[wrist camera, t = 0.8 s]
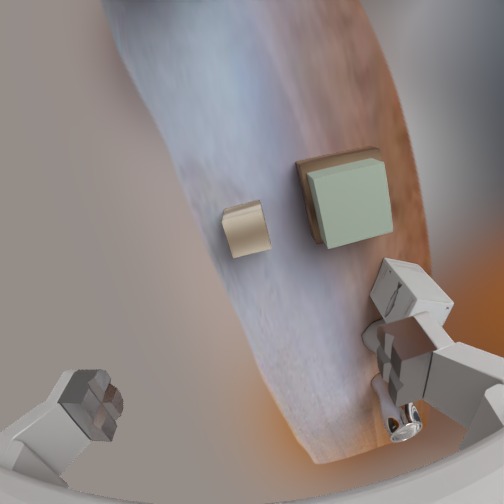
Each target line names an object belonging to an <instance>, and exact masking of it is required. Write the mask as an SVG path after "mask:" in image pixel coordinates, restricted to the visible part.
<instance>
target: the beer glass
mask: <svg viewBox="0 0 504 504" xmlns="http://www.w3.org/2000/svg"><path fill="white" fill-rule="evenodd" d="M371 385H372V387H373V389H374V390H375V392H376V393H377V395H378V398H379V403H380V410H381V416H382V420H383V423H384V426H385V428H386V430H387V433H388V435H389V437H390V439H391V441H392V442H401V441H405V440H407V439H409V438H411V437H413V436H414V435H416V434H417V433H418V432H419V431H420V430H421V428H422V423H421V420H420V417H419V414H418V412H417V409H416V407H415V405H414V403H413V402H412V403H408V404H405V405H402V406H399V407H395V406H394V403H393V401H392V399H391V397H390V394H389V392H388V382H386V381H385V380H383V379H382V377H381V374H380V373H378V374H377V375H376V376H375V377H374V378H373V380H372V382H371Z"/></svg>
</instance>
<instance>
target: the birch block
mask: <svg viewBox="0 0 504 504" xmlns="http://www.w3.org/2000/svg"><path fill="white" fill-rule="evenodd" d="M222 225H223V228H224V231H225V234H226V237H227V240H228V243H229V247H230V250H231V253H232V256H233V258H237V257H241V256H245V255H249V254H253V253H257V252H261V251H265V250H269V249H272V248H271V243H270V238H269V233H268V229H267V225H266V222H265V218H264V214H263V210H262V207H261V203H260V200H256V201H252V202H248V203H245V204H241V205H237V206H233V207H230V208H226V209H225V210H224V215H223V219H222Z"/></svg>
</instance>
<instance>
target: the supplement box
mask: <svg viewBox="0 0 504 504" xmlns="http://www.w3.org/2000/svg"><path fill="white" fill-rule="evenodd" d="M370 297H371V299H372V300H373V302H374V304H375V305H376V307H377V309H378V310H379V312H380V314H381V315H382V317H383V319H384V321H385V322H386V323H389V322H393V321H396V320H399V319H403V318H406V317H410V316H411V315H414V314H417V313H420V312H423V311H428V312H429V313H430V314H431V315H432V316H433V317H434V319H435V320H436V321H437V322H438V323H439V325H440V326H441V327H442V326H443V324H444V322H445V320H446V318H447V316H448V314H449V312H450V311H451V308H452V307H453V305H454V302H453V301H452V300H451V299H450V298H449V297H448V296H447V295H446V294H445V292H444V291H443V290H441V288H440V287H439V286H438V285H437V284H436V283H435V282H434V281H433V280H432V279H431V278H430V276H429V275H428V274H427V273H426V272H425V271H424V270H423V269H422V268H421V267H420V266H419V265H418V264H414V263H409V262H404V261H399V260H394V259H389V258H384V259H383V263H382V266H381V269H380V271H379V274H378V277H377V279H376V282H375V284H374V286H373V289H372V291H371V293H370Z"/></svg>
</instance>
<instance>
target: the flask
mask: <svg viewBox="0 0 504 504" xmlns="http://www.w3.org/2000/svg"><path fill="white" fill-rule="evenodd" d="M382 324H386V322H385V321H384V319H381V320H379V321H376V322H374V323H372V324H371V325H370V326H369V327H368V328H367V330H366V331H365V332H364V333H363V334H362V338H363V341H364V345H365V346H366V347H367V348H369V349H370V350H371V351H373V352H374V353H375V354H377V348H378V347H379V345H380V342H379V340H378V338H377V329H378V325H382Z"/></svg>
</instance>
